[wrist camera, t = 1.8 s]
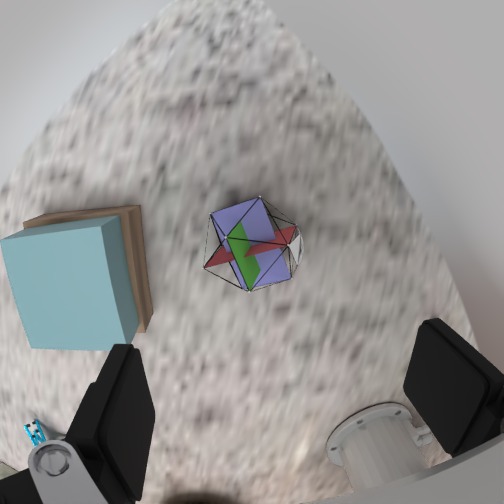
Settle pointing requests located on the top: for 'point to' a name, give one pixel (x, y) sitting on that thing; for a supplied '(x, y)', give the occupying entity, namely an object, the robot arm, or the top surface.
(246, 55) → the top surface
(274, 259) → the geometric puzzle
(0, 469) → the skincare box
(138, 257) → the base block
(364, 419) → the robot arm
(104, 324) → the top block
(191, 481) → the top surface
